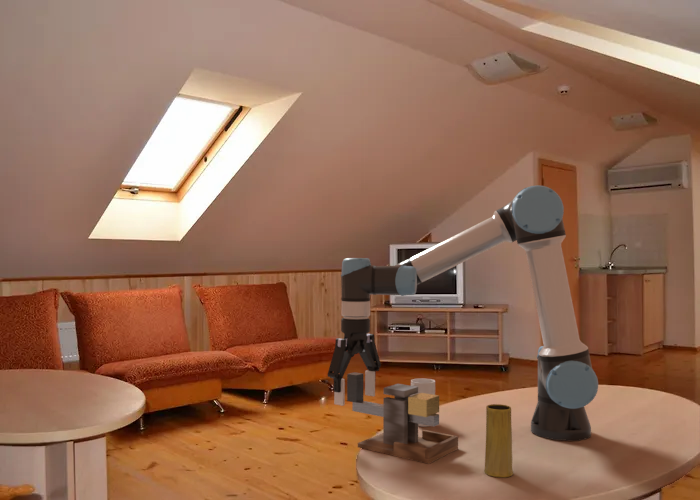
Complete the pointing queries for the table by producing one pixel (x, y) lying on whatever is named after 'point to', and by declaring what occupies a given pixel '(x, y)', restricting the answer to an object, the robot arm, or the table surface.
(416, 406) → the spacer
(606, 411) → the table surface
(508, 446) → the vase
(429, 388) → the mug
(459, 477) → the table surface
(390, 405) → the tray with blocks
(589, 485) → the table surface
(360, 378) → the grey l-shaped bar
